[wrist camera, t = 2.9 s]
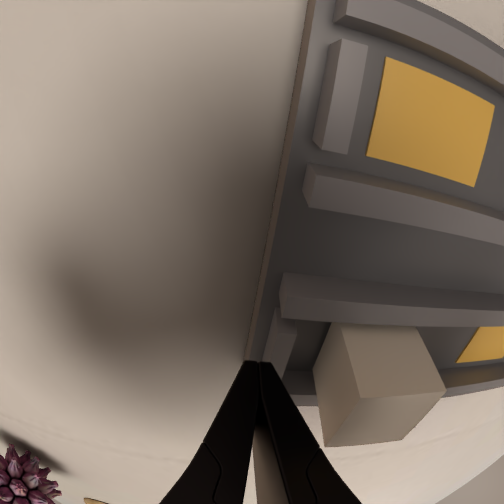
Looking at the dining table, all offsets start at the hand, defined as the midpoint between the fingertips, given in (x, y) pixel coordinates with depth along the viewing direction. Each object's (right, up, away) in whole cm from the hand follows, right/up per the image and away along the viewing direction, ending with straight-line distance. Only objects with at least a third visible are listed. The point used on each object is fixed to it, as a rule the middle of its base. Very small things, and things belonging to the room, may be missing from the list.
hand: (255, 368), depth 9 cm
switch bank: (+8, +4, +1) cm, 9 cm away
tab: (+4, 0, +2) cm, 4 cm away
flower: (-27, -20, +16) cm, 37 cm away
